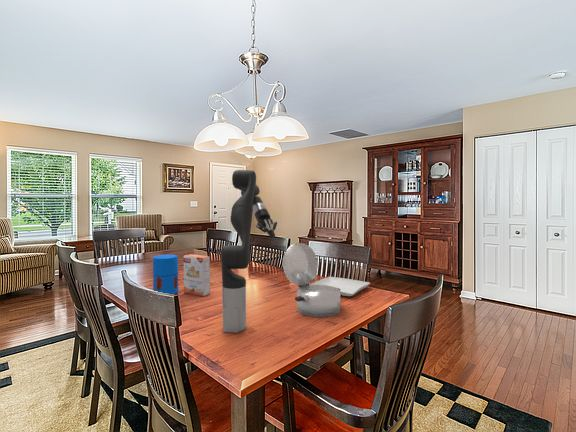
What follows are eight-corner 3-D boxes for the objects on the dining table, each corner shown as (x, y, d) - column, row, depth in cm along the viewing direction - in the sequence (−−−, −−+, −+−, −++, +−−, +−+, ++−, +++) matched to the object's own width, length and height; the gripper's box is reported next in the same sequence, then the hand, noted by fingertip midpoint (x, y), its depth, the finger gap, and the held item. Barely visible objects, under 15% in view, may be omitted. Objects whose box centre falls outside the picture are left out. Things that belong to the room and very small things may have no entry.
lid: (287, 289, 150) (284, 289, 152) (320, 283, 162) (317, 283, 164) (281, 244, 153) (278, 245, 155) (314, 241, 165) (311, 241, 167)
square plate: (370, 288, 185) (370, 281, 185) (352, 300, 162) (352, 293, 162) (329, 281, 200) (329, 275, 200) (307, 291, 177) (307, 284, 177)
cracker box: (183, 293, 173) (182, 255, 172) (191, 290, 178) (191, 253, 177) (202, 297, 166) (202, 257, 165) (210, 294, 172) (210, 255, 171)
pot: (283, 308, 149) (283, 290, 148) (324, 298, 164) (324, 281, 163) (311, 322, 132) (311, 301, 132) (353, 309, 148) (353, 290, 147)
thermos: (170, 314, 141) (169, 259, 139) (148, 313, 143) (147, 258, 141) (183, 306, 151) (182, 255, 150) (162, 305, 153) (162, 254, 152)
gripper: (252, 208, 167) (265, 233, 157) (273, 207, 174) (286, 231, 165) (247, 217, 171) (259, 242, 162) (268, 217, 179) (280, 240, 170)
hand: (273, 237), depth 163 cm, fingers closed
